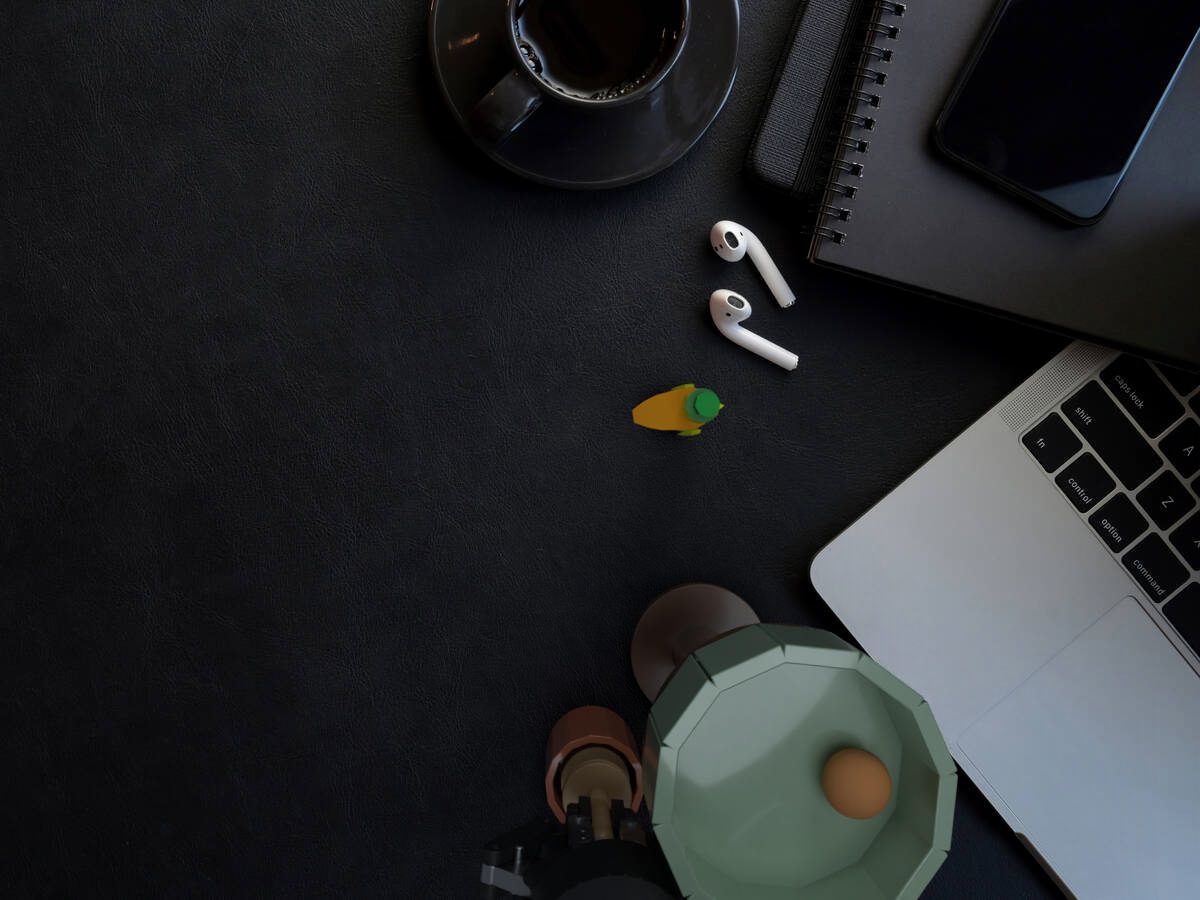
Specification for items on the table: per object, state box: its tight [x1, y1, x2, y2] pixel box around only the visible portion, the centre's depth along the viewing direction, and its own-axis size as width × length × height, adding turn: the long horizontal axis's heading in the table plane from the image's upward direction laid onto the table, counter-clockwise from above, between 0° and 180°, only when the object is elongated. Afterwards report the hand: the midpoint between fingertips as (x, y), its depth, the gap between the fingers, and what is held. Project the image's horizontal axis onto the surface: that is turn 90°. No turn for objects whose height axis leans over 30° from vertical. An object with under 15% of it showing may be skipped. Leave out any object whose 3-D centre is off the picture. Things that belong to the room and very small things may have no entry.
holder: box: [544, 705, 644, 824], centre depth 64 cm, size 6×6×8 cm
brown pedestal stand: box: [629, 581, 815, 766], centre depth 56 cm, size 13×13×25 cm
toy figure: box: [632, 383, 725, 437], centre depth 63 cm, size 7×4×12 cm, turn 98°
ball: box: [822, 748, 892, 820], centre depth 41 cm, size 3×3×3 cm
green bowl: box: [641, 622, 959, 900], centre depth 41 cm, size 13×13×5 cm
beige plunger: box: [561, 743, 632, 840], centre depth 58 cm, size 5×5×12 cm
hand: (599, 813), depth 56 cm, fingers closed on beige plunger, 1 cm apart
